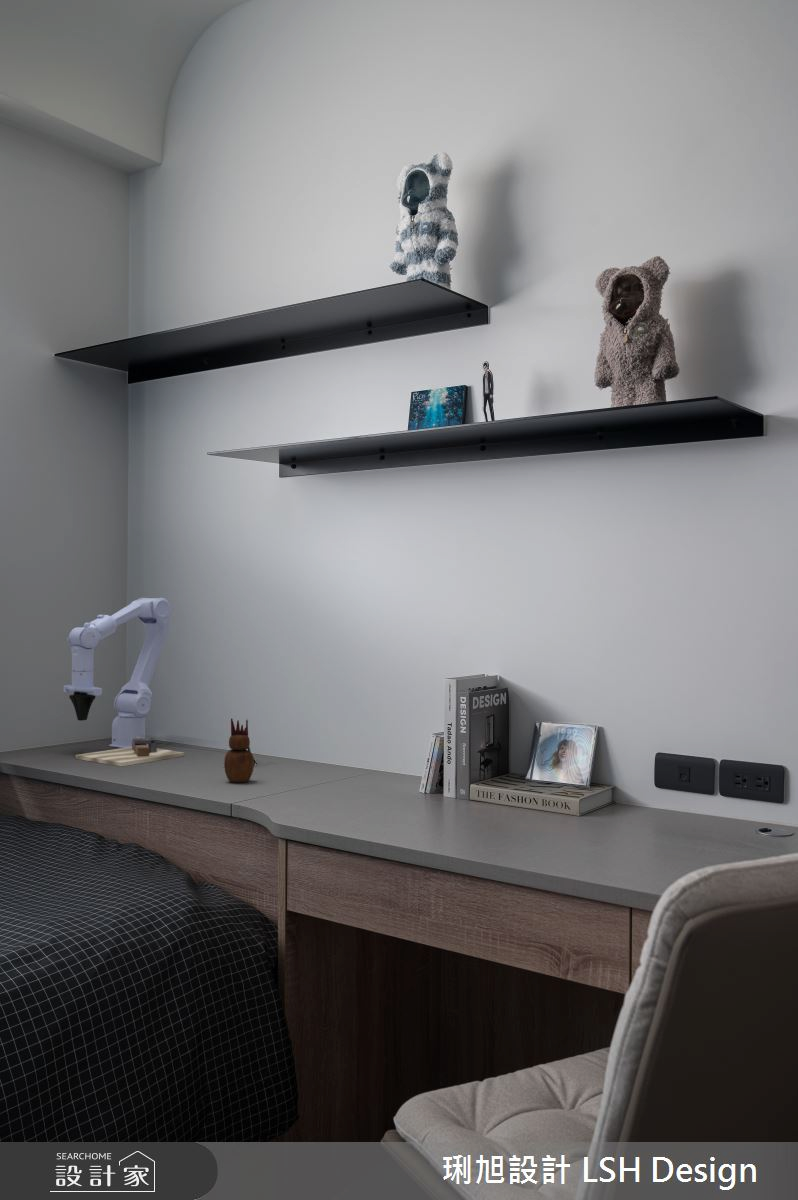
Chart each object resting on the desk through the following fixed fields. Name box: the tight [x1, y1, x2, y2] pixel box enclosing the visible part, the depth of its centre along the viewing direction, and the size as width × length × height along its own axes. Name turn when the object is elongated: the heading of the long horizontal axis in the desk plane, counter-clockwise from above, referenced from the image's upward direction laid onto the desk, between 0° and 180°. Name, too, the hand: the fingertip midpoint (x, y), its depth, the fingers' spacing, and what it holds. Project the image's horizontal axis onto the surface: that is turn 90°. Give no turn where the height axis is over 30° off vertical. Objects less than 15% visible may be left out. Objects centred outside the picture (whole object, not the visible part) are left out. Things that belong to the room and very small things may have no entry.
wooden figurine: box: [223, 718, 255, 783], centre depth 228 cm, size 7×6×15 cm
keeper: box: [132, 737, 158, 753], centre depth 264 cm, size 4×6×3 cm, turn 114°
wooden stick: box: [132, 737, 149, 756], centre depth 264 cm, size 16×3×3 cm, turn 21°
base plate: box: [75, 747, 185, 767], centre depth 261 cm, size 19×21×1 cm
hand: (82, 720), depth 266 cm, fingers closed
